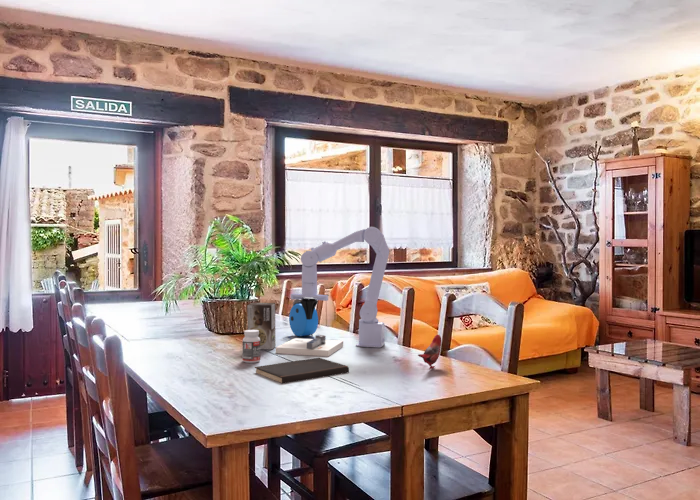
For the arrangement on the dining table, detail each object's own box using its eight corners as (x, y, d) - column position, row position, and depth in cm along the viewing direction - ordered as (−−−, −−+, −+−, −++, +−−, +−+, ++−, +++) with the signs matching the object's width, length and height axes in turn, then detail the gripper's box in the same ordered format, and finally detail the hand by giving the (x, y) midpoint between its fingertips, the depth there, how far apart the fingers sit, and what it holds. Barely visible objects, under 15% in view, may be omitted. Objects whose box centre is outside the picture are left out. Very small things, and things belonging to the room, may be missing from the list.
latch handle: (318, 340, 213) (318, 334, 213) (327, 341, 212) (327, 334, 212) (304, 348, 198) (304, 341, 198) (314, 349, 198) (314, 342, 197)
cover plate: (343, 346, 215) (343, 340, 215) (328, 356, 197) (328, 350, 197) (294, 343, 220) (294, 337, 220) (275, 353, 202) (275, 347, 202)
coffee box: (276, 346, 214) (276, 302, 214) (271, 349, 208) (272, 304, 207) (251, 345, 215) (251, 302, 214) (246, 349, 208) (247, 304, 208)
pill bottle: (256, 363, 185) (256, 332, 185) (239, 362, 186) (239, 331, 186) (262, 359, 191) (262, 329, 190) (246, 359, 192) (246, 329, 192)
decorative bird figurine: (444, 365, 184) (445, 333, 184) (422, 376, 169) (422, 342, 169) (436, 364, 186) (436, 333, 186) (413, 375, 171) (413, 341, 170)
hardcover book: (254, 374, 173) (254, 366, 173) (319, 364, 187) (319, 357, 187) (282, 385, 160) (282, 377, 160) (349, 374, 174) (349, 366, 174)
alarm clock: (318, 337, 233) (318, 300, 233) (305, 339, 230) (306, 301, 229) (300, 333, 244) (300, 297, 243) (288, 334, 240) (288, 298, 240)
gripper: (287, 283, 217) (287, 319, 218) (323, 284, 212) (322, 321, 213) (295, 281, 224) (295, 317, 224) (330, 283, 219) (330, 319, 219)
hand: (309, 319), depth 219 cm, fingers closed
